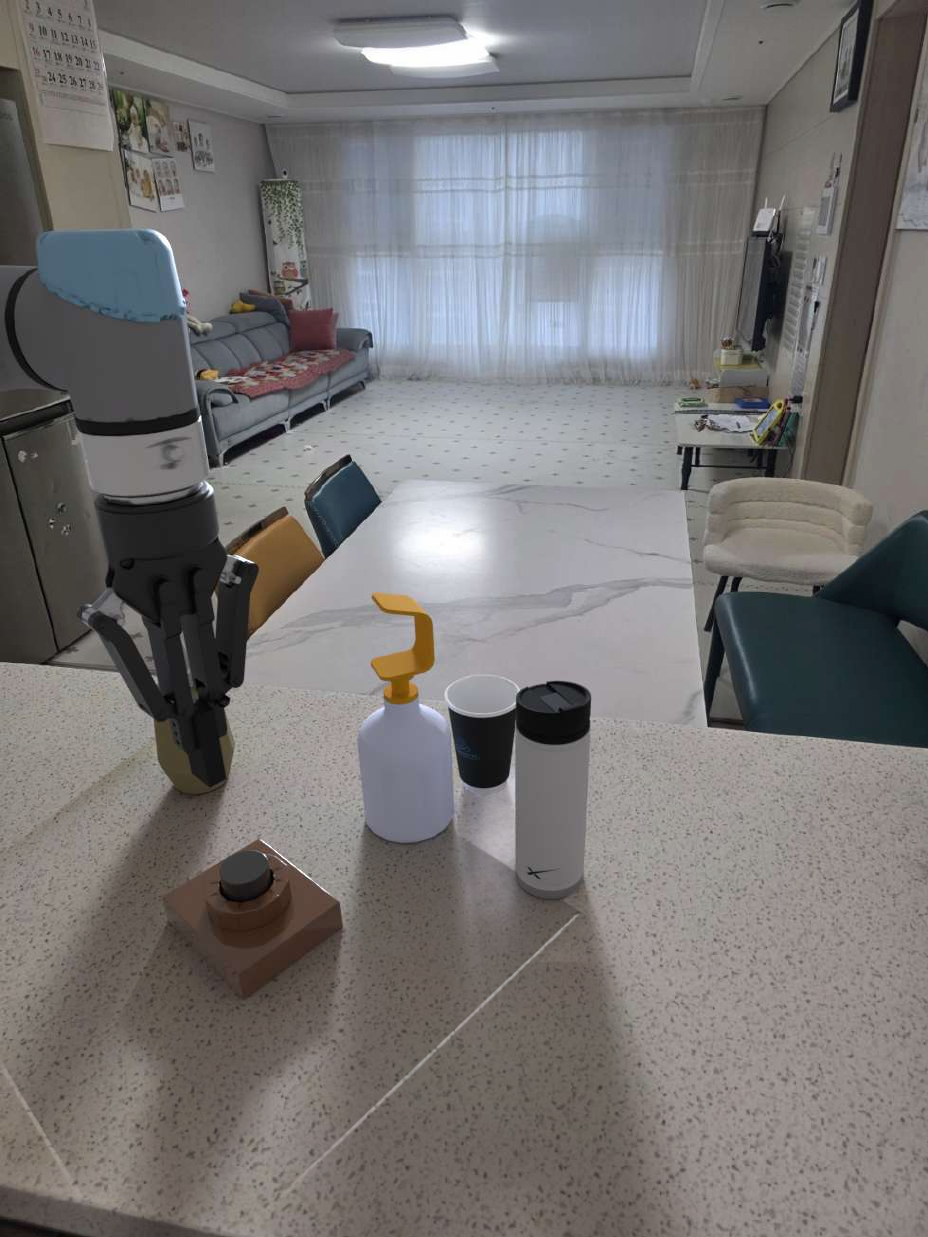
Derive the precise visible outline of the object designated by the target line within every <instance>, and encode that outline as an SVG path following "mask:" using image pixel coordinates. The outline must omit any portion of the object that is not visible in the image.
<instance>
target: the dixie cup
mask: <svg viewBox="0 0 928 1237" xmlns="http://www.w3.org/2000/svg"><path fill="white" fill-rule="evenodd" d="M520 690H521V689H520V687H519V686H518V685H517V684H516V683H515V682H513V681H512V680H510V679H508V678H505V677H502V676H499V675H494V674H493V675H492V674H474V675H469V676H465V677H462V678H459V679H457V680H455V681H454V682H452V683H450V684H449V685H448V687H447V688H446V689H445V691H444V695H443V699H444V702H445V705H446V706H447V709H448V715H449V716H448V717H449V721H450V727H451V732H452V733H451V735H452V739H453V745H454V751H455V757H456V762H457V768H458V775H459V778H460V780H461V782H462V785H463V787H464V788H465V789H466V791H469V792H470V793H472V794H475V795H480V796H487V795H494V794H497V793H499V792H500V791H502V790H503V789H505V787H506V785H507V782H508V779H509V777H510V774H511V773H510V772H511V764H512V757H513V749H514V743H515V721H516V695H517V693H518V692H519V691H520Z"/></svg>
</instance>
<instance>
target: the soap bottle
mask: <svg viewBox="0 0 928 1237" xmlns="http://www.w3.org/2000/svg"><path fill="white" fill-rule="evenodd" d="M371 600H372V601H373V602H374V603H375V604H376V606H377V607H378V609H380V611H381V612H383V613H385V614H390V615H398V616H409V617H414V618H413V620H414V637H415V640H414V644H413V646H411V648H410V649H408V650H407V649H406V650H404V651H400V652H395V653H391V654H386V655H381V656H378V657H377V656H376V657H373V658H372V659H371V660H370V666H371V668H372V670H373V671H374V672H375V674H376V676H377V677H378V678H379V680H381V681H384V682H389V684H388V685H386V686H385V687H384V689H383V691H382V692H383V696H382V697H383V706H382V707H380V708H378V709H377V710H375V711H373V713H371V714H370V715H369V716H368V717H366V719H365V720H363V722H362V723H361V726H360V730H359V732H358V735H357V738H356V742H357V743H356V744H357V753H358V754H357V755H358V761H359V772H360V781H361V790H362V800H363V810H364V811H363V812H364V817H365V822H366V825H367V826H368V827H369V829H370V830H371V831H372V833H373V834H375V835H376V836H378V837H379V838H382V839H384V840H385V841H389V842H393V843H400V844H406V843H409V844H410V843H419V842H422V841H426V840H429V839H432V838H434V837H435V836H437V835H438V834H440V833H441V832H443V831H445V829H446V828H447V827H448V825H449V824H450V823H451V821H452V819H453V816H454V811H455V801H454V800H455V798H454V796H455V795H454V776H453V773H454V772H453V751H452V733H451V730H450V728H449V725H448V723H447V721H446V719H445V717H444V716H443V715H442V714H440V713H439V712H438V711H437V710H435V709H433V708H431V707H430V706H427V705H425V704H421V703H420V695H419V689H418V686H417V685H416V684H415V683H413V682H410V681H411V680H412V679H414V677H415V676H416V675H421V674H425V673H427V672H428V671H430V670H431V669H432V668H433V667H434V664H435V660H436V658H435V640H434V638H435V636H434V622H433V618H432V617H430V615H429V614H428V613H427V612H426V611H425V610H424V609H423V607H421V606H420V605H419V603H418V602H417V601H416V600H415V599H414V598H413V597H411V596H410V595H406V594H397V593H387V592H372V594H371Z"/></svg>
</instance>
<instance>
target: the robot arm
mask: <svg viewBox="0 0 928 1237" xmlns="http://www.w3.org/2000/svg"><path fill="white" fill-rule="evenodd" d="M35 251H36V255H37V266H35V265H34V266H32V265H31V266H28V265H3V264H0V393H1V392H7V391H12V390H22V389H23V390H24V389H27V390H28V389H31V390H44V391H55V392H63V393H64V392H65V393H68V396H69V399H70V403H71V406H72V409H73V420H74V423H75V428H76V429H77V434H78V440H79V443H80V449H81V452H82V457H83V458H82V459H83V462H84V466H85V471H86V476H87V481H88V485H89V489H91V490H93V492H95V493H96V494H97V496H96V498H95V500H94V502H93V505H94V506H93V507H94V510H95V514H96V520H97V523H98V527H99V532H100V536H101V540H102V545H103V549H104V552H105V555H106V559H107V570H106V573H105V576H104V585H105V588H106V589H105V591H103V593H102V594H101V595H99V597H98V598H97V599H96V600H95V601H94V603H92V604H82V605H81V606H79V607H78V608H77V610H76V617H77V619H78V620H79V622H82V623H83V625H86V627H88V628H89V629H91V631H93V632H95V633H96V634H97V635H98V637H99V639H100V640H101V643H102V644H103V646H104V647H105V649H106V651H107V653H108V655H109V657H110V658H111V660H112V662H113V664H114V665H115V667H116V669H117V670H118V673H119V675H120V676H121V678H122V680H123V681H124V683H125V685H126V687H127V688H128V691H129V692H130V694H131V695H132V697H133V699H134V701H135V702H136V704H137V707H138V708H139V709H140V710H141V711H143V712H144V713H145V714H147V715H148V716H149V717H150V718H152V719H153V720H154V719H155V720H156V721H158V722H164V721H166V720H167V719H168V718H169V721H170V726H171V730H172V735H173V740H174V743H175V744H176V746H177V747H178V748H180V749H181V750H182V751H184V752H185V753H186V754H188V758H189V763H190V767H191V772H192V774H193V775H194V776H196V777H197V778H198V779H199V780H201V781H202V782H203V783H204V784H206V785H207V786H208V787H209V788H211V787H213V786H215V785H216V784H218V783H220V782H222V781H224V780H226V779H227V778H226V772H225V767H224V761H223V756H222V750H221V745H220V739H219V738H221V737H223V736H225V735H226V734H227V729H228V727H227V722H226V718H225V717H226V716H227V715H226V716H225V712H226V710H224V709H225V708H227V707H228V706H229V705H230V703H231V697H230V696H228V695H227V693H228V692H229V691H231V690H232V689H238V688H240V687H241V686H242V685H243V684H244V681H245V673H246V672H245V671H246V660H247V659H246V658H247V646H248V631H249V616H250V606H251V605H250V604H251V593H252V591H253V588H254V586H255V583H256V581H257V578H258V574H259V573H260V572H259V571H260V567H259V565H258V564H257V563H256V562H253V561H251V560H249V559H246V558H244V557H242V556H239V555H238V554H233V555H230V554H228V550H227V548H226V547H225V546H224V544H223V542H222V541H221V540H220V538H219V534H220V525H219V524H220V523H219V518H218V512H217V511H218V510H217V505H216V499H215V493H214V488H213V486H212V485H211V484H209V483H208V482H207V481H206V480H207V479H208V478H209V476H210V473H211V472H210V470H211V469H210V464H209V459H208V453H207V452H208V451H207V446H206V440H205V433H204V428H203V421H202V415H201V410H200V404H199V400H198V395H197V386H196V380H195V373H194V366H193V360H192V359H193V358H192V352H191V344H190V336H189V329H188V328H189V326H188V320H187V311H188V310H187V302H186V299H185V298H184V295H183V292H182V287H181V283H180V279H179V275H178V269H177V266H176V261H175V257H174V253H173V249H172V246H171V244H170V242H169V241H168V240H167V238H166V237H165V235H163V234H161V233H160V232H159V231H157V230H154V229H152V228H121V229H120V228H119V229H118V228H117V229H116V228H115V229H108V228H107V229H104V228H103V229H102V228H101V229H99V228H98V229H73V230H72V229H71V230H50V231H45V232H42V233H41V234H39V235H38V237H37V238H36V243H35ZM218 583H219V584H218ZM217 585H218V589H217V588H216V587H217ZM216 589H217V603H216V616H215V611H214V606H213V600H212V597H213V595H214V593H215V590H216ZM123 604H125V605H126V606H127V607H128V608H130V609H131V610H133V611H134V612H135V613H137V614H138V615H140V617H141V621H142V623H143V626H144V627H145V629H146V631H147V635H148V640H149V644H150V649H151V654H152V659H153V664H154V668H155V670H156V671H155V675H156V674H157V675H156V679H157V678H158V680H157V682H156V681H155V679H154V677H153V675H152V673H151V672H150V670H149V668H148V666H147V664H146V662H145V660H144V658H143V656H142V655H141V653H140V651H139V649H138V647H137V645H136V643H135V641H134V640H133V638H132V637H131V635H130V634H129V632H127V630H125V628H124V626H125V624H126V616H125V614H124V612H123V611H122V605H123ZM215 619H216V620H215ZM214 621H215V629H214V625H213V622H214ZM181 635H182V636H183V642H184V645H185V647H186V651H187V656H188V661H189V666H190V671H191V676H192V682H193V687H194V691H195V692H196V693H197V694H198V698H199V699H198V698H197V697H196V696H194V697H192V694H191V689H190V684H189V679H188V674H187V668H186V663H185V658H184V653H183V648H182V642H181V639H182V637H181ZM157 683H159V688H160V690H159V688H158V686H157V685H156V684H157ZM227 780H228V779H227ZM227 780H226V781H227Z"/></svg>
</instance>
